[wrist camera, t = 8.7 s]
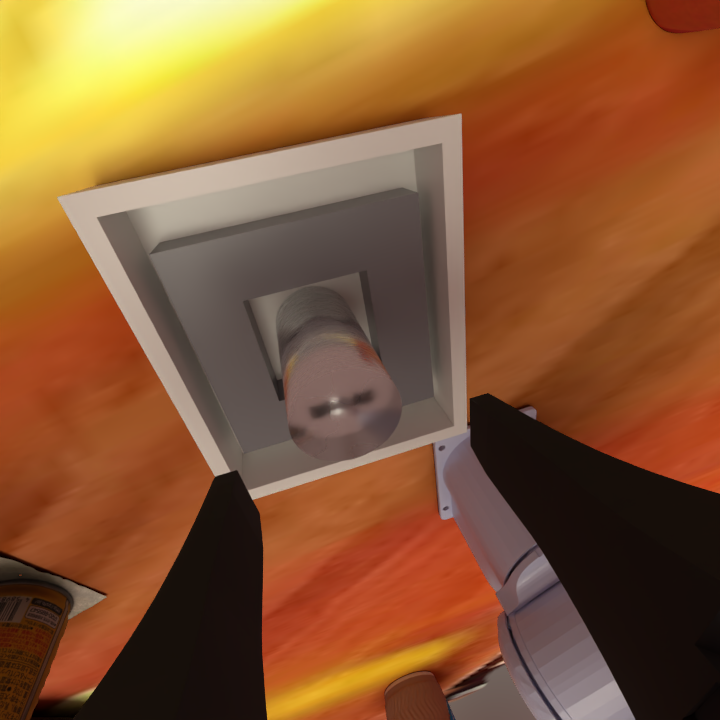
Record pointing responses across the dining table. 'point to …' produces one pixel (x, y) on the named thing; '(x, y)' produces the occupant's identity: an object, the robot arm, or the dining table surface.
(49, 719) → the milk container
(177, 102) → the dining table surface
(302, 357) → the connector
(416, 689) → the coffee cup
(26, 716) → the condiment
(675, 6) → the paper cup
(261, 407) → the box
